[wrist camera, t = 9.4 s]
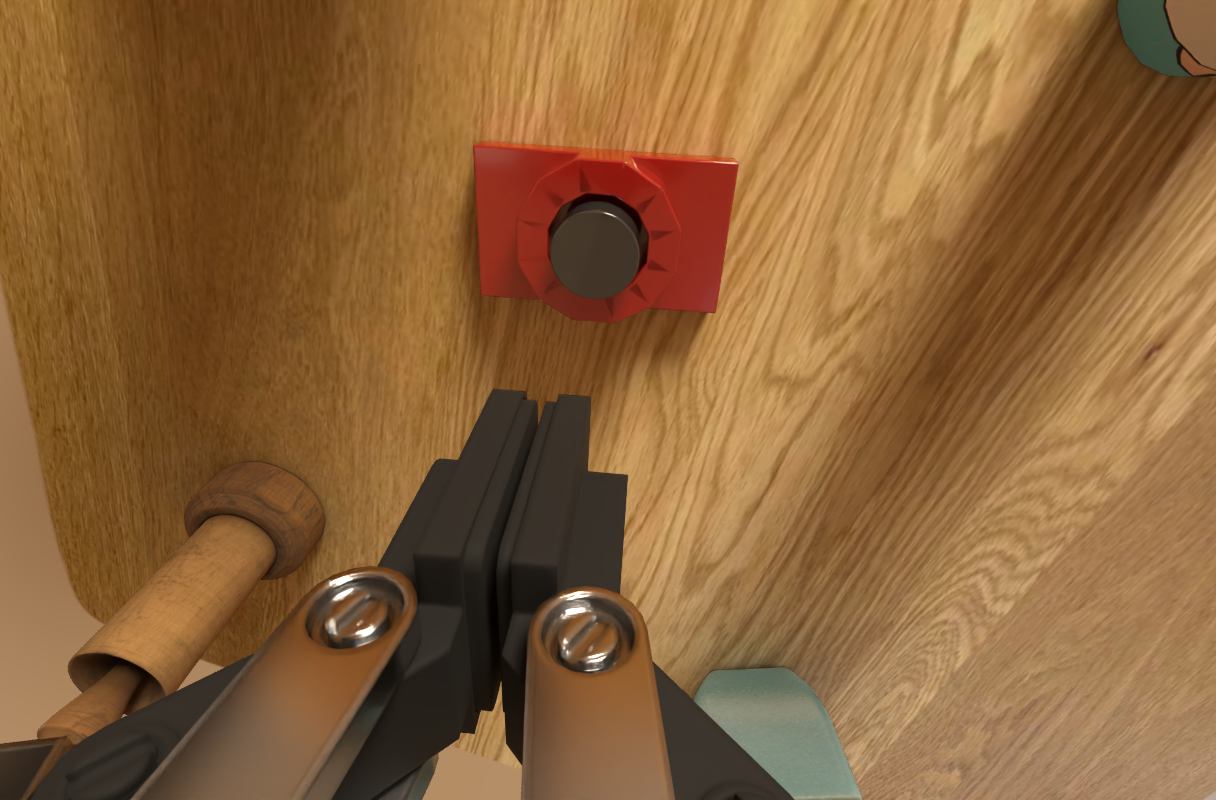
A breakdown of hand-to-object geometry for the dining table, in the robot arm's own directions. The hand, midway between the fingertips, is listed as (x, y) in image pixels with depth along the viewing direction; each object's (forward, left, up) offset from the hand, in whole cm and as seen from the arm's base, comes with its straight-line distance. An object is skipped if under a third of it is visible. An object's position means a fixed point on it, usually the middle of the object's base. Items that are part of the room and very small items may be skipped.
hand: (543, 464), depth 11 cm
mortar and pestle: (-18, -17, -17) cm, 30 cm away
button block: (0, 0, -17) cm, 17 cm away
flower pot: (+11, -29, -17) cm, 35 cm away
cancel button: (0, 0, -14) cm, 14 cm away
